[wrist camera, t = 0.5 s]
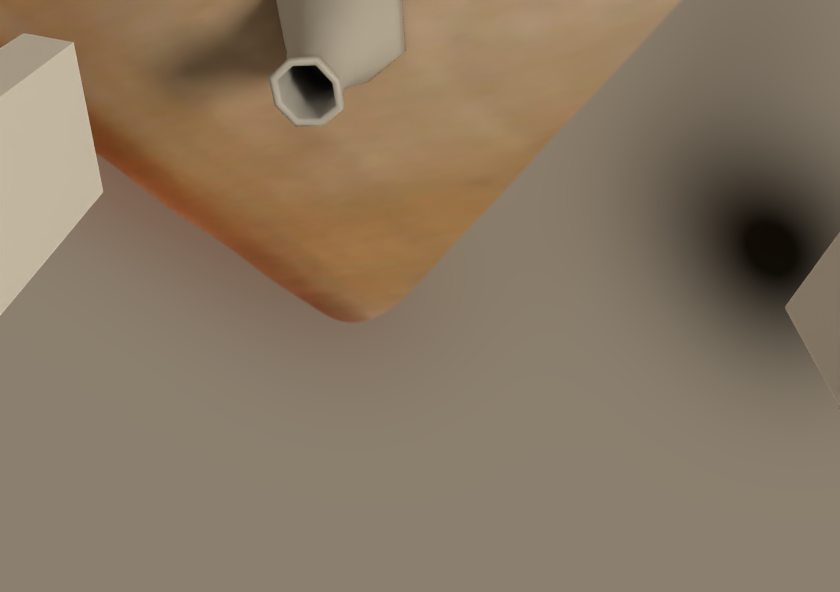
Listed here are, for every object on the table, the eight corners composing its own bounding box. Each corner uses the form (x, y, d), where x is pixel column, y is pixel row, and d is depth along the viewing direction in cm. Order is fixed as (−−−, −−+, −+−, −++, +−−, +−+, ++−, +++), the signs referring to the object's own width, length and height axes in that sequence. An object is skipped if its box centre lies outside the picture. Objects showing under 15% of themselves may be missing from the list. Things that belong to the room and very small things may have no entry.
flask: (375, -77, 32) (344, -22, 25) (426, 58, 37) (413, 140, 29) (252, -22, 34) (189, 44, 27) (315, 99, 39) (276, 186, 31)
